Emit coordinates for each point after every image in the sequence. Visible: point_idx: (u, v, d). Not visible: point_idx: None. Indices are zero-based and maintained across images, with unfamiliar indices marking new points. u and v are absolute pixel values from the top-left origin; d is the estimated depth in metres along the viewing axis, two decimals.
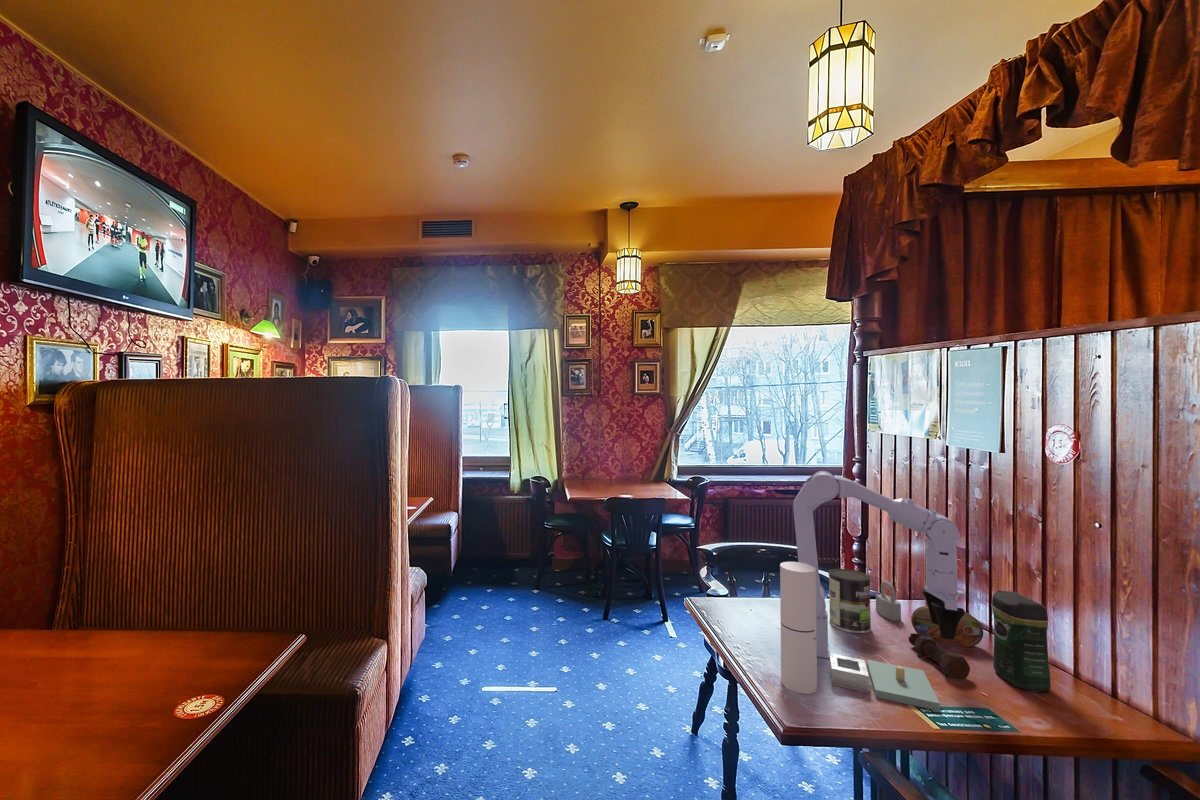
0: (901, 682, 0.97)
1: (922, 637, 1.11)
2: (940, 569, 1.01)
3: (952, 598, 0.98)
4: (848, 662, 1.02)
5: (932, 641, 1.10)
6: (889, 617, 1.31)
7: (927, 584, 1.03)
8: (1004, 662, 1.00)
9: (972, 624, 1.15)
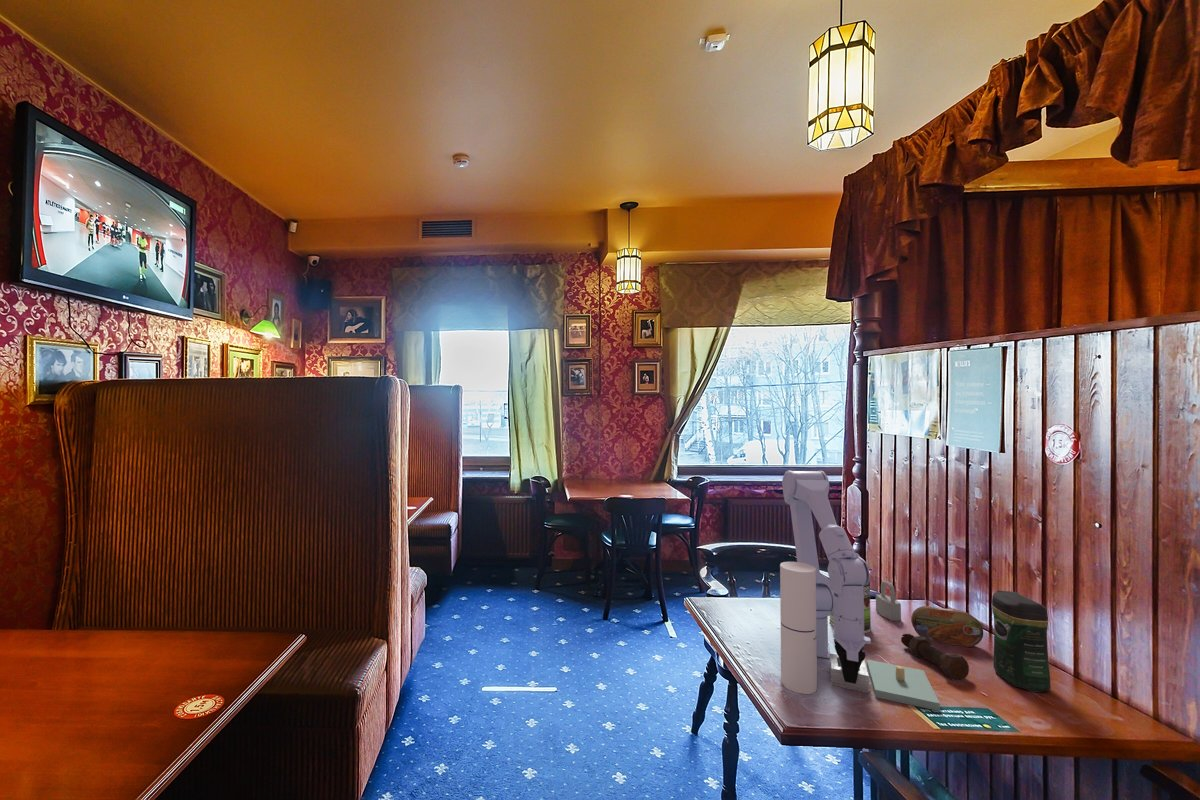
0: (901, 682, 0.97)
1: (916, 638, 1.11)
2: (834, 610, 0.98)
3: (855, 647, 0.93)
4: None
5: (926, 641, 1.10)
6: (889, 617, 1.31)
7: (834, 630, 0.98)
8: (1004, 662, 1.00)
9: (972, 624, 1.15)
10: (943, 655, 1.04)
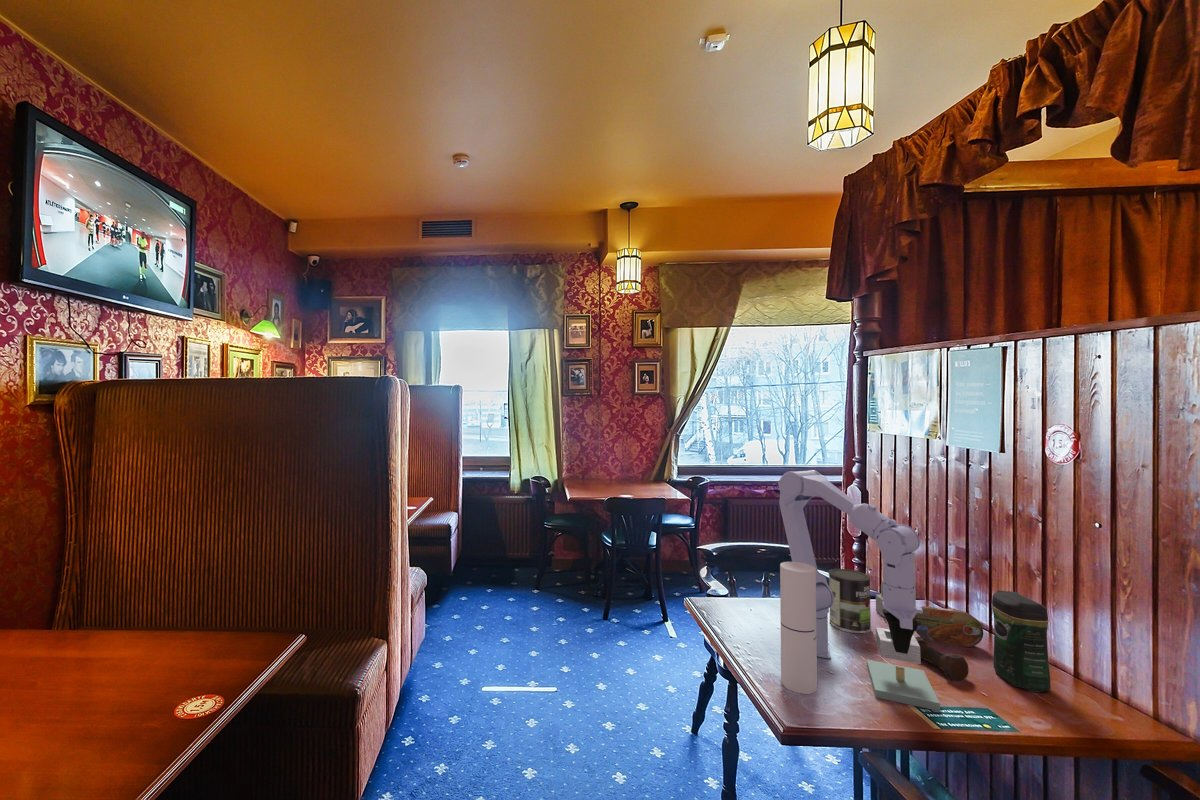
0: (901, 682, 0.97)
1: None
2: (888, 582, 0.95)
3: (908, 616, 0.91)
4: None
5: (924, 642, 1.10)
6: None
7: (884, 600, 0.96)
8: (1004, 662, 1.00)
9: (972, 624, 1.15)
10: (943, 656, 1.03)
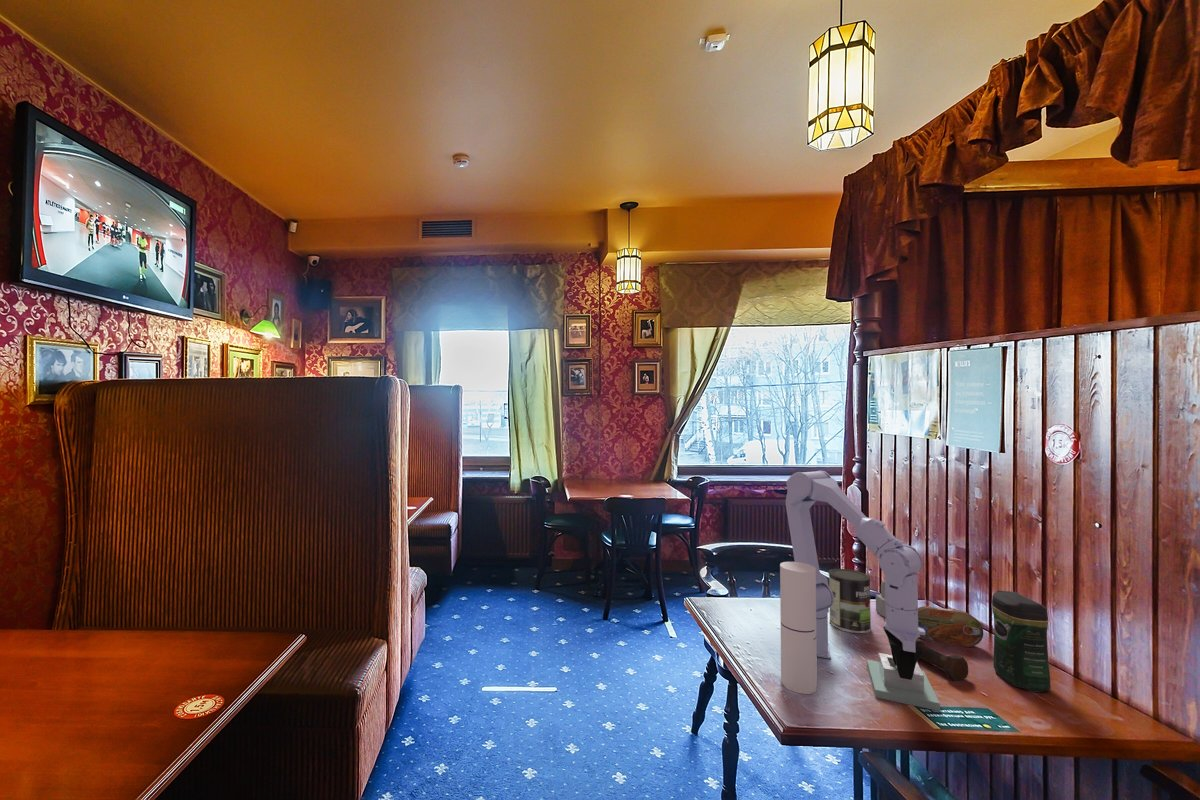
0: None
1: None
2: (890, 603, 0.95)
3: (911, 638, 0.91)
4: None
5: (921, 642, 1.10)
6: None
7: (886, 621, 0.96)
8: (1004, 662, 1.00)
9: (972, 624, 1.15)
10: (943, 656, 1.03)
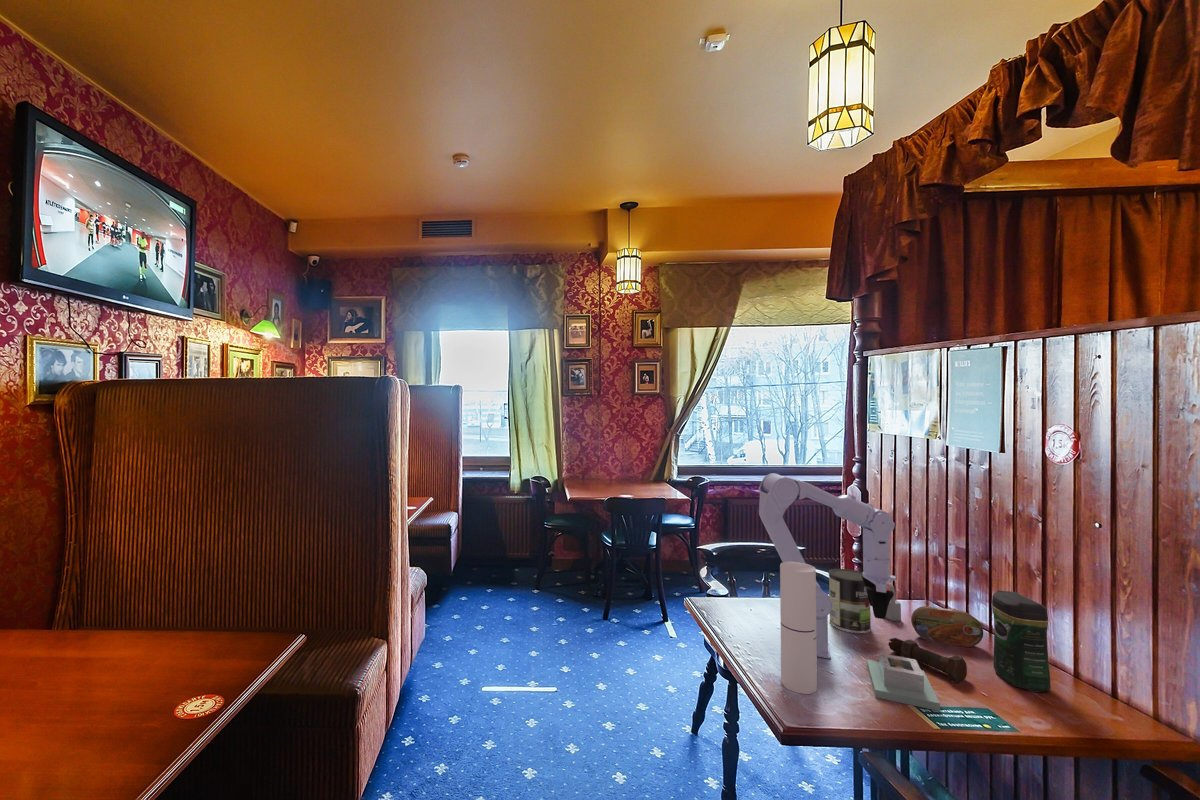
0: None
1: (908, 642, 1.09)
2: (879, 557, 1.11)
3: (883, 582, 1.09)
4: (899, 662, 0.99)
5: (916, 644, 1.09)
6: (889, 617, 1.31)
7: (864, 570, 1.14)
8: (1004, 662, 1.00)
9: (972, 624, 1.15)
10: (943, 658, 1.02)
